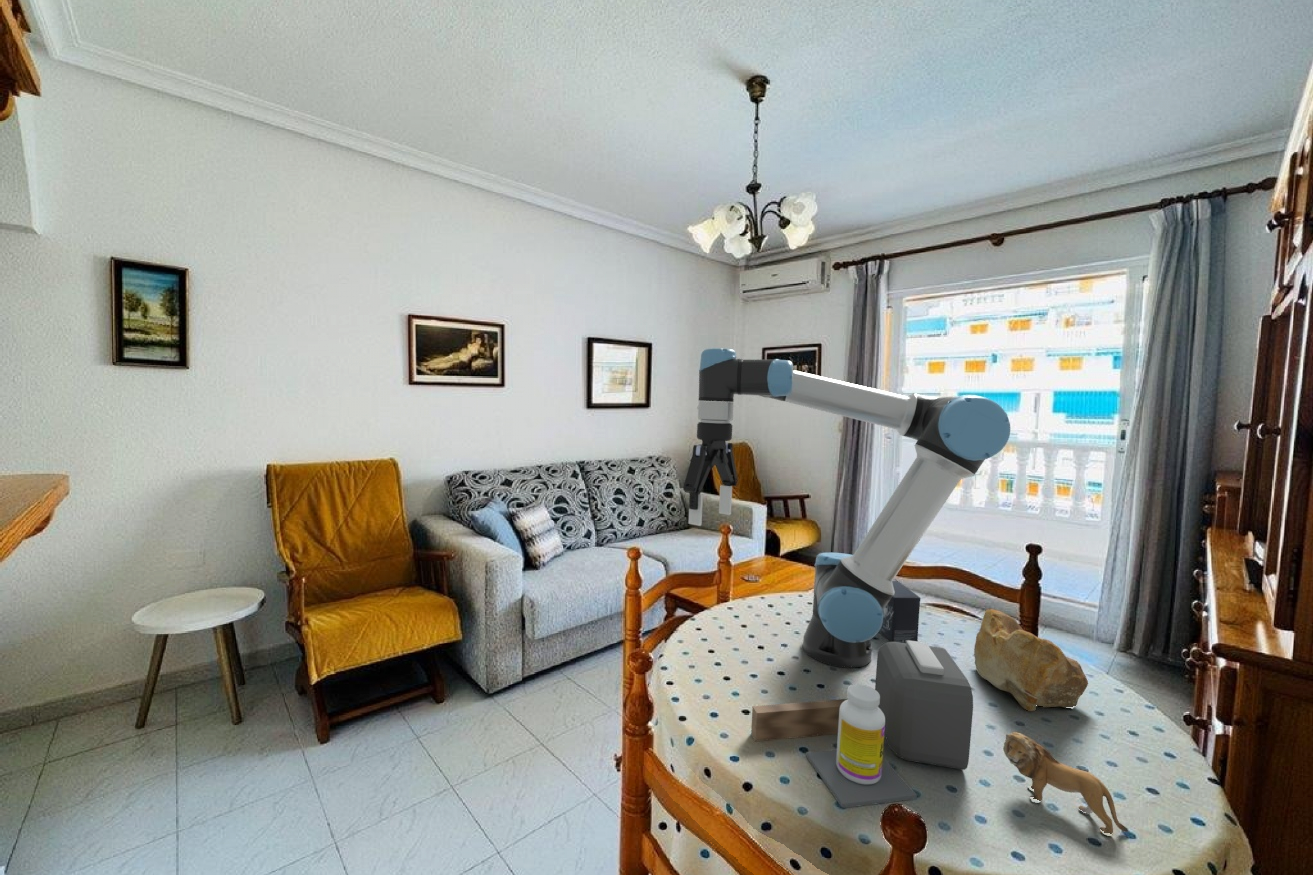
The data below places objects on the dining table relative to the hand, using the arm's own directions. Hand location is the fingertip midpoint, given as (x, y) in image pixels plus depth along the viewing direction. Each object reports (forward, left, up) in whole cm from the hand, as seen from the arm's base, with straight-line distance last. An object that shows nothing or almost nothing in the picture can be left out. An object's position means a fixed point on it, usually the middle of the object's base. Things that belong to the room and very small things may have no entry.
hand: (710, 519), depth 113 cm
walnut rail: (-11, +27, -32) cm, 43 cm away
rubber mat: (-14, +38, -32) cm, 51 cm away
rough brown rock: (-63, +22, -32) cm, 74 cm away
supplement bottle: (-14, +38, -31) cm, 51 cm away
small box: (-52, -8, -32) cm, 62 cm away
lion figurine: (-39, +48, -32) cm, 70 cm away
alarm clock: (-29, +31, -32) cm, 53 cm away
